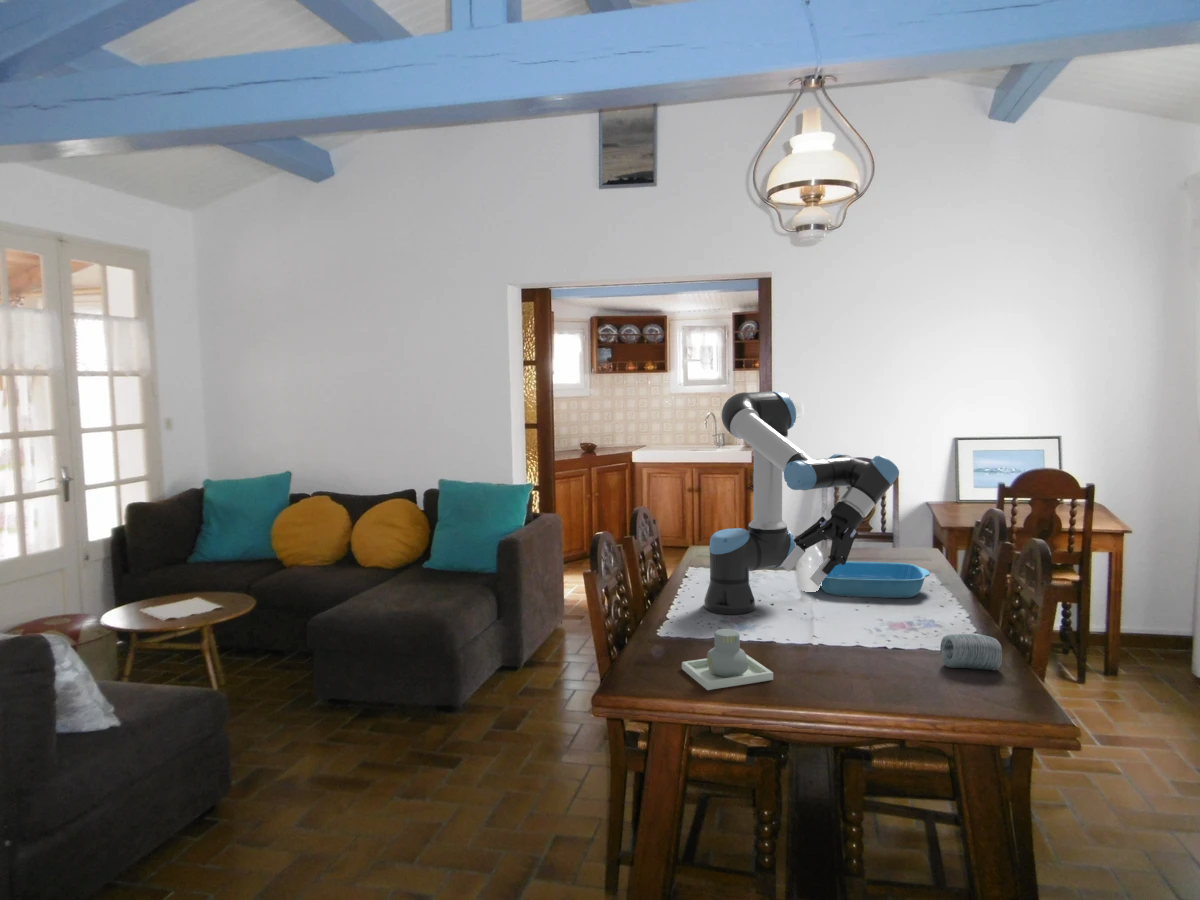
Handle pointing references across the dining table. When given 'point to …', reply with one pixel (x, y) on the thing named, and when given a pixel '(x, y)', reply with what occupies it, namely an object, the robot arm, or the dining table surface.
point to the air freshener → (727, 654)
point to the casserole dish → (875, 579)
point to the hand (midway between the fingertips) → (799, 575)
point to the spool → (971, 651)
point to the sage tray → (711, 681)
